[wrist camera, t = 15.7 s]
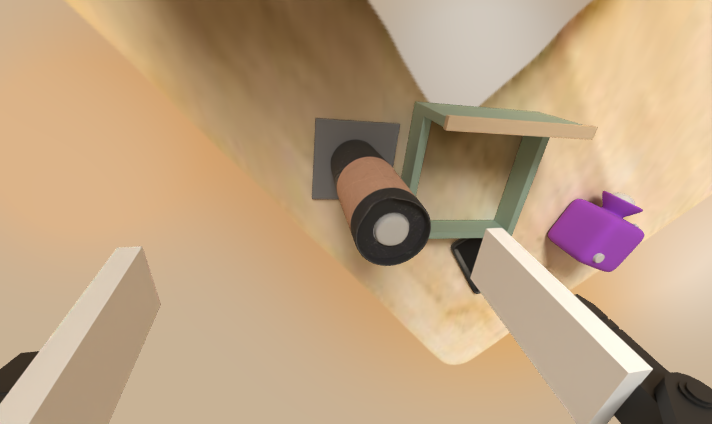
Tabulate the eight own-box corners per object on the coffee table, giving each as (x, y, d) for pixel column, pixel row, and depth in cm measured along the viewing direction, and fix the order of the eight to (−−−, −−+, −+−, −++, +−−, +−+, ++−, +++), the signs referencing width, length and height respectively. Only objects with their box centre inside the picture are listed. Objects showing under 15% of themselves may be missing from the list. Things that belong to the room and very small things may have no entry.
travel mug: (366, 192, 50) (409, 274, 33) (320, 177, 47) (341, 257, 30) (387, 148, 47) (447, 211, 30) (340, 128, 44) (376, 186, 27)
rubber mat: (315, 118, 43) (315, 118, 43) (399, 123, 46) (400, 124, 46) (311, 197, 49) (312, 198, 49) (386, 198, 52) (387, 199, 51)
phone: (475, 295, 66) (450, 247, 58) (473, 291, 67) (448, 244, 59) (510, 276, 65) (489, 225, 57) (506, 272, 66) (485, 222, 58)
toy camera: (618, 187, 60) (674, 212, 52) (579, 247, 66) (623, 278, 57) (575, 177, 57) (627, 202, 49) (538, 241, 63) (578, 273, 54)
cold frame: (415, 100, 45) (449, 116, 36) (538, 110, 49) (597, 127, 40) (392, 226, 54) (414, 265, 45) (497, 225, 59) (537, 261, 50)
